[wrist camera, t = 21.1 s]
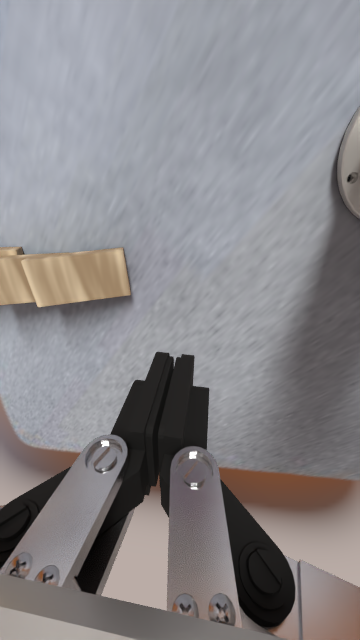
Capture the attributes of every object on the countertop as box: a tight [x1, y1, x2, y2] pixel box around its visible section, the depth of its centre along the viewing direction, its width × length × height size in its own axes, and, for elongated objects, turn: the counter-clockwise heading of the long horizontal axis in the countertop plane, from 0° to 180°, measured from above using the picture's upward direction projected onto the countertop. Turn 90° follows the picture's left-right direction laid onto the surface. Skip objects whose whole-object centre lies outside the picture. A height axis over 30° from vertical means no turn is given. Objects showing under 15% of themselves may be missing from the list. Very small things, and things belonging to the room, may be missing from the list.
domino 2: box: [21, 248, 131, 307], centre depth 26 cm, size 2×5×10 cm
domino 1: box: [0, 253, 64, 305], centre depth 27 cm, size 2×5×10 cm
